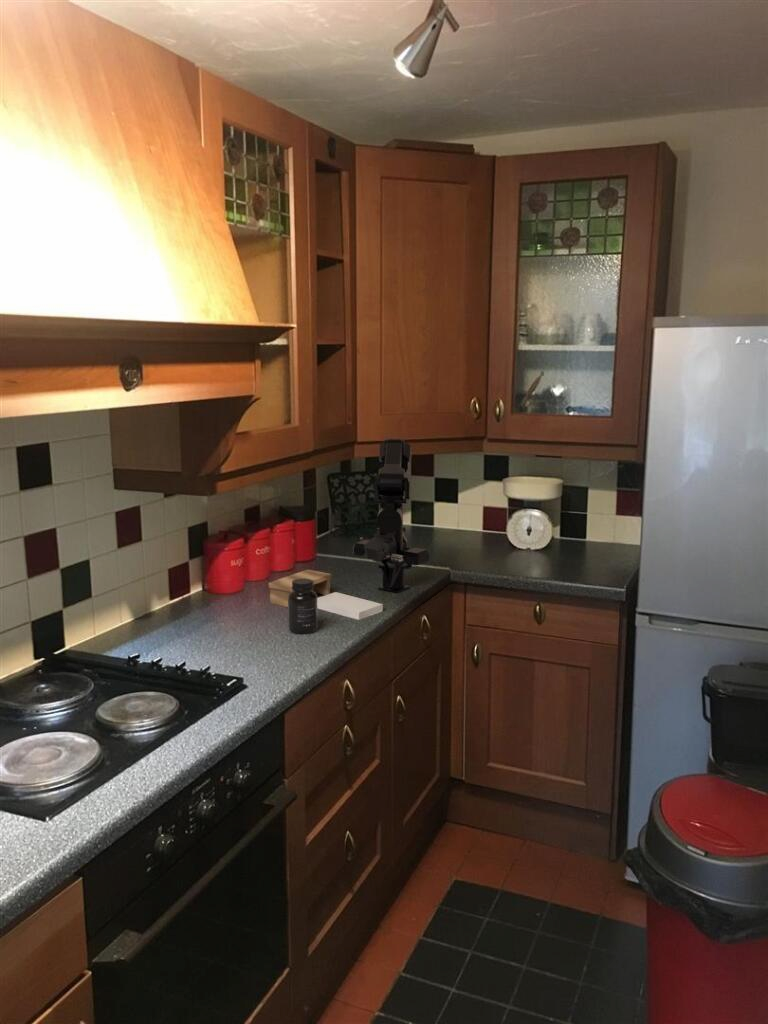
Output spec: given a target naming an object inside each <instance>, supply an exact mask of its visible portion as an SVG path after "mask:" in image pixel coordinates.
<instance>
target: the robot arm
mask: <svg viewBox="0 0 768 1024" xmlns="http://www.w3.org/2000/svg"><path fill="white" fill-rule="evenodd" d="M378 449H379V451H378V459H379V462H381V467H380V468H379V469H378V475H377V476H375V477H374V478H375V479H374V481H375V483H374V498H373V503H374V504H379V505H378V509H379V510H378V513H377V517H376V524H377V526H378V527H376V528H375V534H374V537H372V538H371V539H363V540H361V541H358V542H355V543H354V545H353V546H352V554H353V555H354V556H360V557H363V556H364V555H365V556H366V560H372V561H373V562H375V563H376V564H378V569H380V570H381V572H382V585H380V586H378V587H377V589H378V590H380V591H381V590H382V591H387V592H391V593H400V592H402V591H405V590H407V589H410V585H409V584H406V570H410V569H411V568H413V566H419V565H422V564H425V563H426V562H429V561H430V553H429V550H428V549H426V548H419V547H413V548H411V547H410V546H408V539H407V538H406V535H405V534H404V533H405V532H407V531H406V526H404V505H403V504H407V503H408V500H410V495H411V494H410V492H411V490H410V489H411V488H410V487H411V485H410V484H411V482H410V480H409V478H408V477H407V476H405V474H406V473H407V471H408V468H409V463H411V462H412V445H411V444H409V443H407V442H405V439H402V438H387V439H384V442H382V443H380V444H379V448H378Z"/></svg>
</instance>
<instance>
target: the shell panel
mask: <svg viewBox="0 0 768 1024" xmlns="http://www.w3.org/2000/svg"><path fill="white" fill-rule="evenodd" d="M383 606H384V604H383V603H380V602H375V601H373V600H367V599H363V598H360V597H357V596H352V595H348V594H345V593H341V592H337V591H336V592H335V591H334V592H332V593H331V592H330V594H328V595H323V596H319V597H317V610H318V609H319V610H322V611H325V612H329V613H333V614H336V615H340V616H344V617H347V618H350V619H354V620H357V621H358V620H359V621H360V620H362V619H365V618H368V617H371V616H374V615H376V614H379V613H382V612H383V609H384V607H383Z"/></svg>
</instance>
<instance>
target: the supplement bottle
mask: <svg viewBox="0 0 768 1024" xmlns="http://www.w3.org/2000/svg"><path fill="white" fill-rule="evenodd" d="M312 589H313V581H312V580H310V579H305V578H301V579H295V580H293V581H292V590H293V591H292V592H290V594H289V595H288V607H287V609H288V611H287V615H288V616H287V617H288V620H287V621H288V630H289V632H291V633H292V634H294V635H295V634H296V635H310V634H313V633H315V632H317V630H318V625H319V621H318V617H319V616H318V608H317V598H318V593H315V592H314V591H313V590H312Z"/></svg>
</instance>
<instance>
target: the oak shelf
mask: <svg viewBox="0 0 768 1024" xmlns="http://www.w3.org/2000/svg"><path fill="white" fill-rule="evenodd" d="M301 578H305V579H310V580H312V581H313V589H312V590H313V591H314V592H315V593H316V594H317V595H318V594H319V595H323V596H325V595H328V594H331V579H332V573H328V572H327V573H326V572H323V571H318V570H317V571H316V570H312V569H305V570H302V571H299V572H296V573H292V574H290V575H287V576H283V577H281V578H279V579H276V580H273V581H270V582H268V588H269V596H270V598H269V600H270V601H269V603H270V604H272V605H276V606H281V607H285V608H288V595H289V594H290V592H292V591H293V590H292V581H293V580H295V579H301Z"/></svg>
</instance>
